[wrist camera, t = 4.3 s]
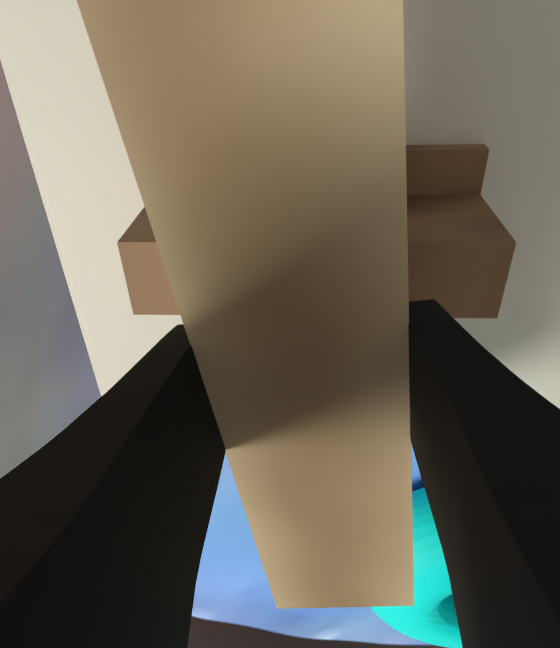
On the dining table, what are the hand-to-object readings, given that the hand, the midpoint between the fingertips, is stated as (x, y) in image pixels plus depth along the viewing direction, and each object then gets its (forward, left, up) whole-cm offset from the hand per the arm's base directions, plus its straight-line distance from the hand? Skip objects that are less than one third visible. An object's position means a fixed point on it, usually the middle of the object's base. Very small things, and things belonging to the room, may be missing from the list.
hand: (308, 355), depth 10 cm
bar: (0, -1, -2) cm, 2 cm away
